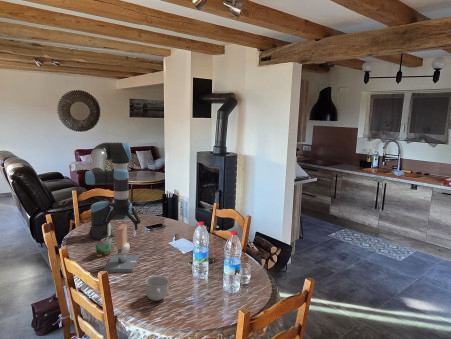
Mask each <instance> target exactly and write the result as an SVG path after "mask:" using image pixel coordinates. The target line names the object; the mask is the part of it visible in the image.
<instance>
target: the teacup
mask: <svg viewBox="0 0 451 339" xmlns="http://www.w3.org/2000/svg"><path fill="white" fill-rule="evenodd" d="M144 283H145V284H144V289H145V290H144V291H145V292H144V294H145V296H146V297H147V298H149V300H151V301H161V300H162V299H164V298H165V297H167V296H168V293H169V288H170V280H169V278H167V277H165V276H162V275H160V276H159V275H154V276H150V277H148V278H146V279H145V281H144Z"/></svg>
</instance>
